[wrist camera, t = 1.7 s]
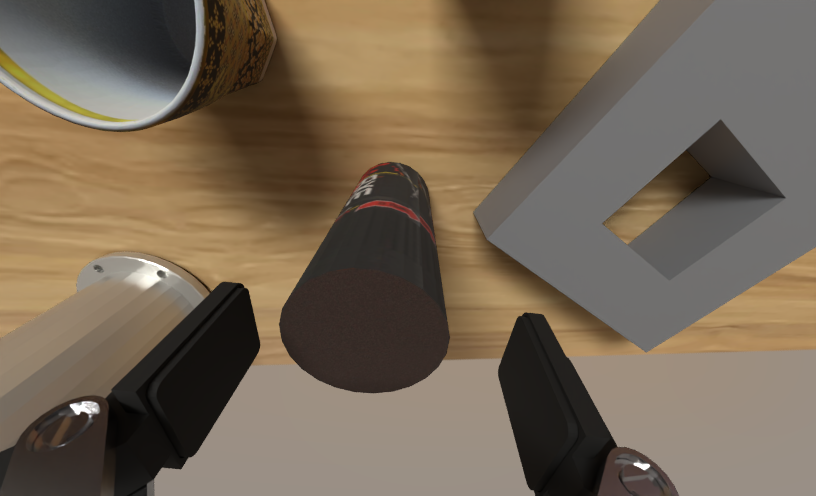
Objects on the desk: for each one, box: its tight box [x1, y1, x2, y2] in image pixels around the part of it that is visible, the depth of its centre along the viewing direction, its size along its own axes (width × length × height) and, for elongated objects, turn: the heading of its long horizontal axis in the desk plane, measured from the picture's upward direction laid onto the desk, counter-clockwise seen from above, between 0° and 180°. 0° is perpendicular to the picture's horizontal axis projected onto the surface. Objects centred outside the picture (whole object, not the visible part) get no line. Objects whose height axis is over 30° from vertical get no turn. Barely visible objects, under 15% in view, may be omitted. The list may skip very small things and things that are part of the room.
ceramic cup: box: [0, 0, 277, 132], centre depth 14 cm, size 13×10×10 cm
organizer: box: [473, 0, 816, 352], centre depth 20 cm, size 18×18×5 cm
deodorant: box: [279, 162, 450, 393], centre depth 17 cm, size 6×6×15 cm
